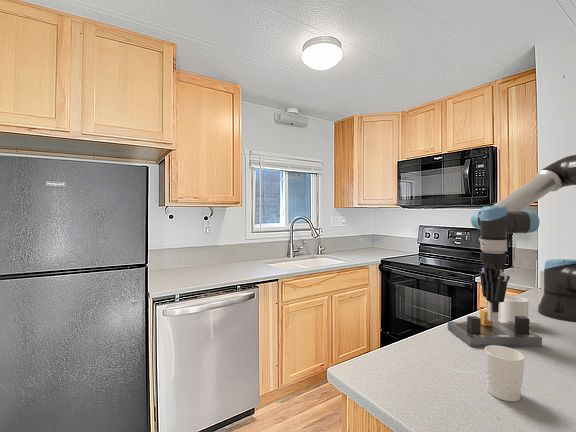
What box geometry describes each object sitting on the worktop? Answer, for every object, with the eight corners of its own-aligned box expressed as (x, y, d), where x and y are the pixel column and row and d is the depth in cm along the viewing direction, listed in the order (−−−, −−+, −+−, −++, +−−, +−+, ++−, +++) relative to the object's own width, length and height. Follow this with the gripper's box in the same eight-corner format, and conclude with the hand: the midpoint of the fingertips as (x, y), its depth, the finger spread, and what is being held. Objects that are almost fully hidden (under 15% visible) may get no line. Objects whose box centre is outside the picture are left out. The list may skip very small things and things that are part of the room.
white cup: (476, 384, 79) (477, 345, 79) (505, 383, 80) (506, 344, 79) (500, 404, 71) (501, 361, 71) (532, 402, 72) (533, 359, 72)
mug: (509, 318, 126) (510, 292, 126) (535, 324, 120) (535, 297, 119) (496, 324, 119) (497, 297, 119) (522, 331, 113) (523, 303, 112)
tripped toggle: (488, 323, 112) (488, 309, 112) (492, 325, 109) (493, 311, 109) (479, 323, 112) (480, 309, 112) (484, 325, 109) (484, 311, 109)
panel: (510, 329, 115) (511, 307, 114) (541, 346, 101) (542, 321, 100) (447, 329, 115) (448, 307, 114) (469, 346, 101) (470, 321, 100)
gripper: (471, 249, 113) (470, 313, 114) (494, 254, 100) (494, 327, 101) (491, 248, 113) (491, 313, 114) (518, 254, 100) (517, 327, 101)
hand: (492, 320), depth 108 cm, fingers closed
